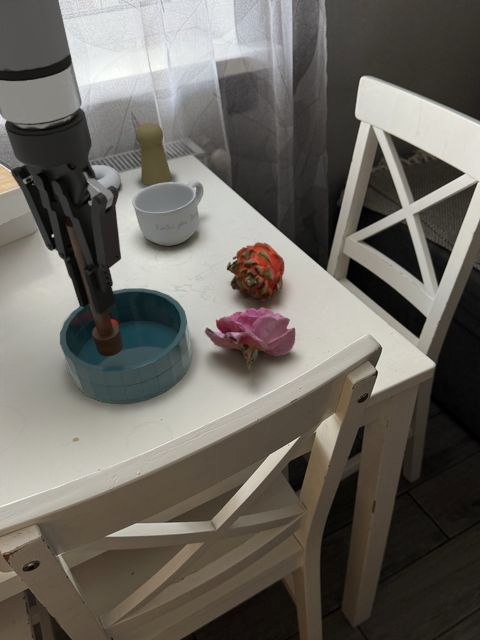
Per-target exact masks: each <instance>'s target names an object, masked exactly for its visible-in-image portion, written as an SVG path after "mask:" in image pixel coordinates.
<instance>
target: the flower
mask: <svg viewBox="0 0 480 640" xmlns="http://www.w3.org/2000/svg"><path fill="white" fill-rule="evenodd" d="M290 322H291V319H290V318H288V317H286V316H284V315H282V314H280V313H278V312H276V313H275V312H274V310H272V309H270V308H269V309H268V308H265V307H264V306H263V307H260V308H259V309H256V308H247V309H245V311H236V312H233V313H232V314H231V315H230V316H223V317H220V318H219V319H215V326H216V328H217V330H218V331H219V332H218V331H213V330H212V329H210V328H209V327H206V328H205V330H204V333H205V335H206V336H207V337H208V338H209V340H210V341H211V342H212V343H213V345H214V346H217V347H219V348H221V349H236V350H240V351H241V353H242V354H243V357H244V358H245V363H246V366H247V368H248V371H249V376H250V381H251V386H253V385H254V383H253V378H252V374H251V366H253V365H254V362H255V361H256V359H257V357H258V354H259V351H261V352H264V353H266V354H267V355H271V356H277V357H278V356H284V355H286V354H288V353H289V352H290V351H291V350H293V348H294V346H295V343H296V328H295V327H291V328H288V326H289V324H290Z"/></svg>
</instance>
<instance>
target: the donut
mask: <svg viewBox="0 0 480 640" xmlns="http://www.w3.org/2000/svg"><path fill="white" fill-rule="evenodd" d="M91 167H92V169H93V170H94V172H95V175H96V180H97V181H98V182H99V183H100V184H101V185H103V186H104V187H105V188H106V189H107V188H108V187H110V186H114V187H115V188H116V189H117V190H118V189H119V188H120V185H121V183H122V180H121V174H120V173H119V172H118V171H117V170H116V169H115V168H114V167H111V166H109V165H105V164H93V165H91Z"/></svg>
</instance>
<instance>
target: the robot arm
mask: <svg viewBox="0 0 480 640" xmlns="http://www.w3.org/2000/svg"><path fill="white" fill-rule="evenodd" d="M61 9H62V8H61V5H60V1H59V0H0V116H1V118H2V119H3V120H5V123H4V128H5V131H6V134H7V137H8V140H9V143H10V145H11V148H12V151H13V155H14V158H16V160H17V161H18V162H19V163H21V164H19V165H18V166H15V167H14V168H12V169H11V170H10V173H11V176H12V178H13V179H14V180H15V183H16V184H17V185H18V187H19V188H20V190H21V191H22V194H23V196H24V199H25V200H26V204H27V205H28V207H29V210H30V212H31V215H32V217H33V220H34V221H35V225H36V227H37V229H38V231H39V233H40V235H41V238H42V240H43V243H44V245H45V247H46V248H47V250H49V251H51V252H52V251H56V252H57V254H58V256H59V258H60V259H62V260H63V262H64V265H65V268H66V272H67V274H68V276H69V279H71V283H72V285H73V289H74V292H75V296H76V299H77V302H78V305H79V306H81V307H86V306H87V305H88V304H89V302H88V298H87V295H86V291H85V288H84V285H83V281H82V278H81V275H80V271H79V268H78V264H77V261H76V258H75V254H74V251H73V248H72V244H71V241H70V237H69V234H68V231H67V227H66V222H67V221H68V220H69V219H71V221H72V224H73V226H74V229H75V232H76V235H77V237H78V240H79V243H80V246H81V249H82V251H83V254H84V257H85V260H86V263H87V265H88V266H86V267H85V268H84V269H83V270H84V273H85V277H86V280H87V284H88V287H89V290H90V294H91V297H92V301H93V304H94V308H95V311H96V313H98V314H100V315H101V314H102V313H103V312H104V311H106V310H107V309H108V308H109V307H110V306H112V305H113V304H114V303H115V298H114V294H113V291H114V290H113V284H114V281H113V279H112V278H113V277H112V273H111V269H110V268H112V267H114V266H115V264H117V263H118V262H119V261H121V260H122V254H121V245H120V235H119V225H118V215H117V202H118V200H119V199H118V198H119V194H120V193H119V190H118V189H116V188H115V187H114V186H110V187H108V188H107V189H106V188H105V187H104V186H103V185H101V184H100V183H99V182H98V181H97V180H96V175H95V172H94V170H93V169H92V167H91V166H92V165H91V163H90V160H89V155H90V151H91V148H92V138H91V133H90V129H89V125H88V119H87V116H86V113H85V111H84V110H83V109H82V108H81V106H82V103H83V101H82V96H81V93H80V89H79V84H78V81H77V76H76V72H75V68H74V64H73V63H74V62H73V58H72V53H71V50H70V46H69V41H68V37H67V32H66V28H65V23H64V19H63V14H62V10H61Z"/></svg>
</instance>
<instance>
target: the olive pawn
mask: <svg viewBox="0 0 480 640" xmlns="http://www.w3.org/2000/svg"><path fill="white" fill-rule="evenodd" d="M135 139H136V141H137V142H138V144H139V145H140V164H141V165H140V166H141V167H140V169H141V183H142V184H144V185H145V186H147V187H149V186H152V185H155V184H159V183H165V182H172V180H173V179H172V173H171V170H170V167H169V163H168V159H167V157H166V153H165V149H164V146H163V143H162V141H163V140H164V132H163V129H162V127H161V126H160V125H159V124H157V123H153V122H147V123H146V122H145V123H142V124H140V125H139V126H137V128H136V130H135Z"/></svg>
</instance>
